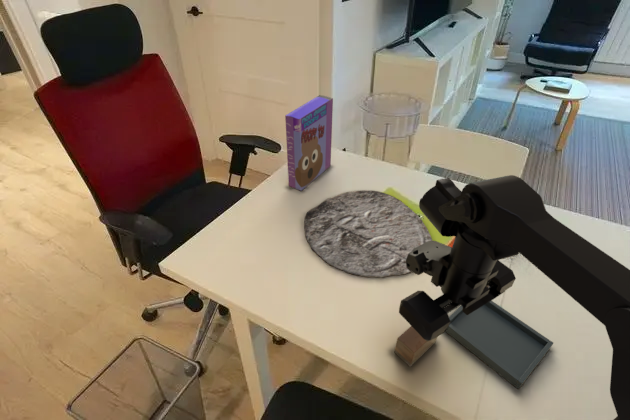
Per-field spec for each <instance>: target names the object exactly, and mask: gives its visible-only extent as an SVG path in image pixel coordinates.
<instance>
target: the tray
mask: <svg viewBox="0 0 630 420" xmlns="http://www.w3.org/2000/svg"><path fill="white" fill-rule="evenodd" d="M462 309H463V306H461V305H460V306H459V307H457V308H456V309H455V311H453V312H452V313H451V314H450V315H448V316H449V319H450V321H451V322H450V324H449V326H448V327H447V329H448V330H447V331H445V333H447V334H448V335H449V336H451V337H452V338H453V339H455V341H457V342H458V343H459V344H461V345H462V346H463V347H465V348H466V349H467V350H468V351H470V353H472V354H473V355H474V356H476V357H477V358H478V359H479V360H481V361H482V362H483V363H485V364H486V365H487V366H488V367H490V368H491V369H492V370H493V371H495V372H496V373H497V374H498V375H499V376H501V377H502V378H503V379H505V380H506V381H507V382H508V383H510V384H511V385H512V386H513V387H515V388H516V389H517V390H520V388H521V387H522V385H523V384H524V383H525V381H526V380H527V379H528V378H529V376H530V375H531V373H532V372H533V371H534V370H535V368H536V367H537V366H538V365H539V363H540V362H541V361H542V360H543V358H544V357H545V355H547V353H548V352H549V350H550V349H551V348H552V346H553V345H554V341H552V340H550V339H549V338H547V337H546V336H544V335H543V334H542V333H540V332H539V331H537V330H536V329H534V328H533V327H531V326H530V325H528V324H527V323H526V322H524V321H523V320H521V319H519V318H518V317H517V316H515V315H514V314H512V313H511V312H510V311H508V310H506V309H505V308H504V307H502V306H500V305H499V304H497V303H496V302H495V301H493V300H491V301H490V302H488V303H486V304H485V305H483V306H482V307H480V308H478V309H477V310H475V311H474V312H472V313H470V314H469V315H466V314H465V313H464V312H463V311H462Z"/></svg>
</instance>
